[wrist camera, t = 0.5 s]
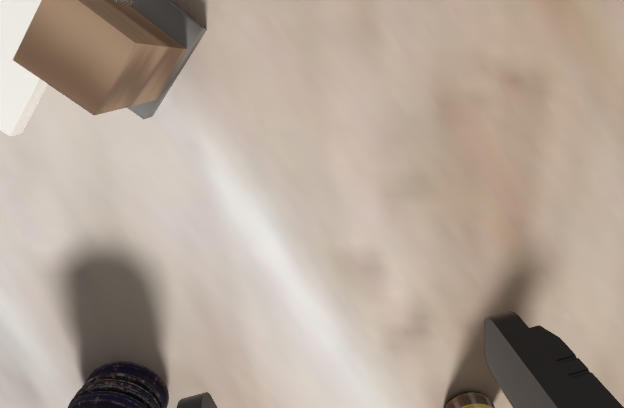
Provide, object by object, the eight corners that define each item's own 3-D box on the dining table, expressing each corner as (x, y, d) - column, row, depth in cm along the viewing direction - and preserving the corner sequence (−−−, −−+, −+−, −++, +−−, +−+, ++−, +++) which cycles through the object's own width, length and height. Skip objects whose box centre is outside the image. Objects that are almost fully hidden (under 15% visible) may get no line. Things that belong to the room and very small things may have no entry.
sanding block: (154, -12, 31) (68, -55, 20) (206, 29, 32) (153, 11, 21) (101, 80, 33) (-2, 89, 22) (152, 116, 35) (78, 141, 23)
